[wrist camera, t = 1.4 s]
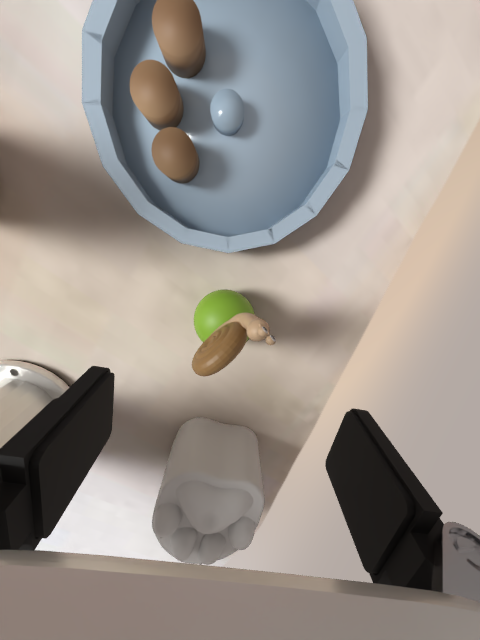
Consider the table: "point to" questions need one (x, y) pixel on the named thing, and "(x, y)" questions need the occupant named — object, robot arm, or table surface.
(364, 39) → the tray
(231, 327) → the snail figurine
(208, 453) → the lumpy-topped squat cylinder
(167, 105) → the bead
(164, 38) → the bead
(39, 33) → the table surface
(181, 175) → the bead
